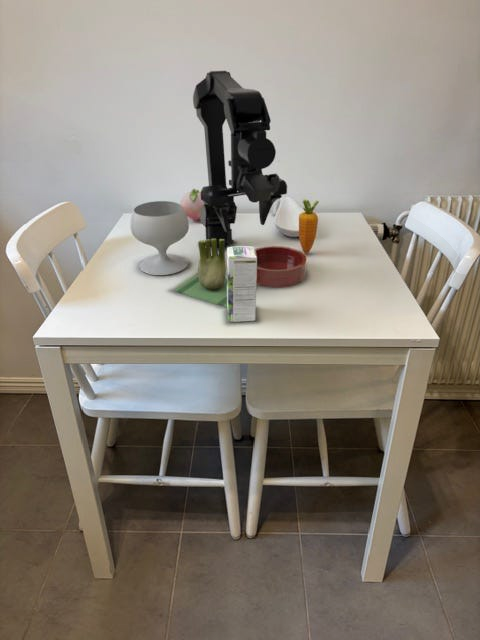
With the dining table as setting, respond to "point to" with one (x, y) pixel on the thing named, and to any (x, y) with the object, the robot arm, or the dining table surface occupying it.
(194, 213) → the decorative fruit
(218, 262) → the fennel bulb
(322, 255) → the dining table surface
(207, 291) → the tea towel
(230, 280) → the syrup box
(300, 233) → the carrot
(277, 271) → the bowl
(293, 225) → the white gravy boat
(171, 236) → the chalice
